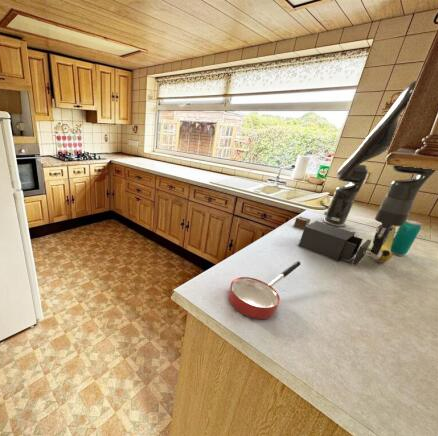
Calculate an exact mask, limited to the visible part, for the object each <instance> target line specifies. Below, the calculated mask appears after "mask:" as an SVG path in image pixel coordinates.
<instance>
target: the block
mask: <svg viewBox="0 0 438 436" xmlns="http://www.w3.org/2000/svg"><path fill="white" fill-rule="evenodd" d="M310 222H311V218H307V217H304V216H298V217H296V218H295V221H294V224H293V227H294V228H297V229H299V230H301V231H304V228H305V226H307V225H309V224H310Z"/></svg>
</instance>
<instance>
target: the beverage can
mask: <svg viewBox="0 0 438 436" xmlns="http://www.w3.org/2000/svg"><path fill="white" fill-rule="evenodd" d="M422 226H423V225H422V223H421V222H419V221H415V220H412V219H406V221H405V223H404V225H402V226H398V229H397V230H396V232H395V235H394V238H393V242H392V246H391V254H393V255H395V256H400V257H404V256H405V255H406V254H408V253H409V250H411V249H410V248H411V247H412V245H413V243H414V241H415V240H416V238H417V237H418V234H419V232H420V231H421V229H422Z"/></svg>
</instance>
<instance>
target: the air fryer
mask: <svg viewBox="0 0 438 436" xmlns="http://www.w3.org/2000/svg"><path fill="white" fill-rule="evenodd" d="M352 236H356V232H354V231H351V230H348V229H344V228H342V227H339V226H333V225H330V224H327V223H325V222H321V221H319V220H315V221H313V222H311V223H309V225H307V226H305V228H304V230H302V234H301V237H300V240H299V243H298V247H299V248H301V249H305V250H308V251H310V252H312V253H315V254H318V255H320V256H323V257H325V258H328V259H331V260H333V261H336V262H339V260H341V258H339V257H340V254H341V252H342V250H343V247H344V245H345V243H346V241H347V240H348V239H350V238H351V237H352Z"/></svg>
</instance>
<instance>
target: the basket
mask: <svg viewBox="0 0 438 436" xmlns="http://www.w3.org/2000/svg"><path fill="white" fill-rule="evenodd" d="M363 240H364V238H361V237H359V236H356V235H354V236H352V237H351V238H350V239H348V240H347V241H346V243H345V245H344V247H343V250H342V252H341V254H340V257H339V258H340V260H344V261H347V262H350V261H351V260H352V259H353V258H354V259H353V261H352V263H351V265H353V266H357V265H358V264H359V263H360V262H361V261H362V260H363V258H365V256H366V255H367V256H369V257H372V258H373V257H374V258H375V259H379V258H380V257H381V255H382V254H383V253H382V252H380V251H379V253H378V254H376V255H372V253H369V252H370V251H371V249H372V248H370V245H371V244H372V242H373V240H371V239H366V240H365V242H363ZM367 251H368V252H367Z"/></svg>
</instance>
